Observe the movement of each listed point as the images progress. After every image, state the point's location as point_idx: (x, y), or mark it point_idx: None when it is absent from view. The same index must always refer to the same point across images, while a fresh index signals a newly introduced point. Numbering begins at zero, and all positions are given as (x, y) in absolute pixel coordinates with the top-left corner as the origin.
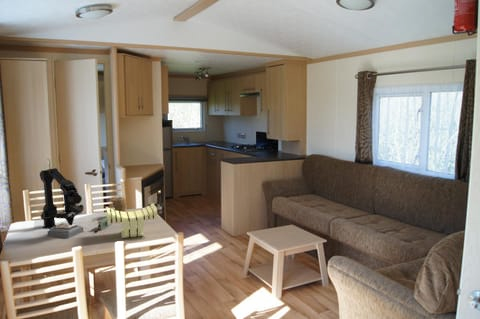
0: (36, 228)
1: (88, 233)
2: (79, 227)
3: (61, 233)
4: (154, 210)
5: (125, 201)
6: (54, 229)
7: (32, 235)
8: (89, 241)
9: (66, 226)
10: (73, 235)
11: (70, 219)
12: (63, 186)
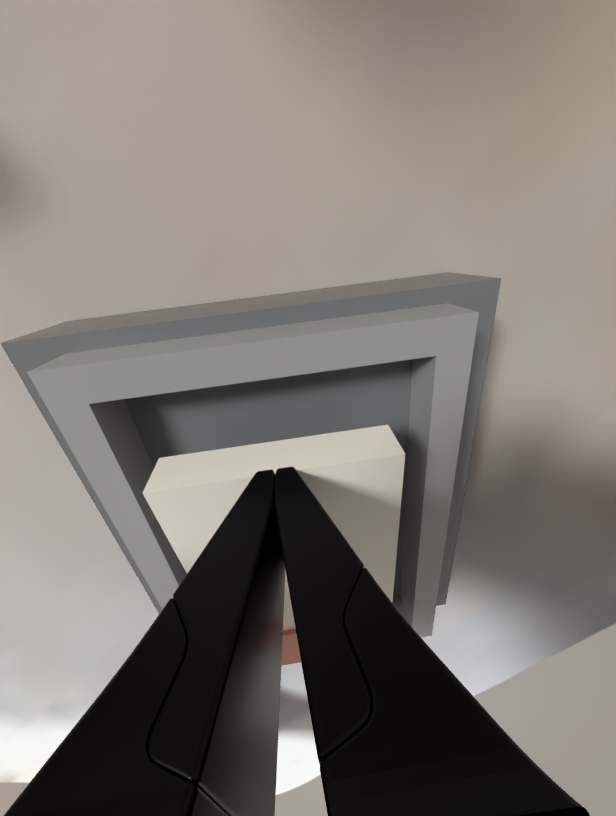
0: (291, 712)
1: (57, 94)
2: (106, 352)
3: (468, 428)
4: None
5: None
6: (433, 581)
7: (436, 636)
8: None
9: (398, 494)
10: (333, 288)
11: (426, 662)
12: None
